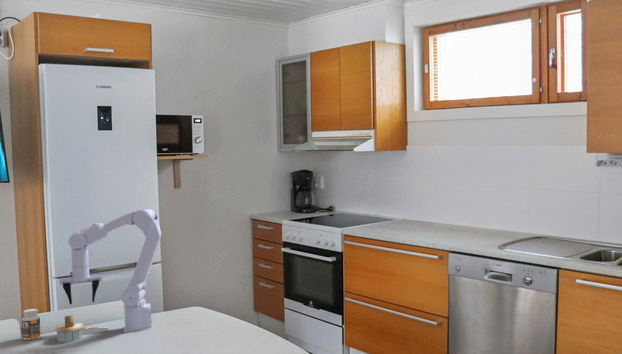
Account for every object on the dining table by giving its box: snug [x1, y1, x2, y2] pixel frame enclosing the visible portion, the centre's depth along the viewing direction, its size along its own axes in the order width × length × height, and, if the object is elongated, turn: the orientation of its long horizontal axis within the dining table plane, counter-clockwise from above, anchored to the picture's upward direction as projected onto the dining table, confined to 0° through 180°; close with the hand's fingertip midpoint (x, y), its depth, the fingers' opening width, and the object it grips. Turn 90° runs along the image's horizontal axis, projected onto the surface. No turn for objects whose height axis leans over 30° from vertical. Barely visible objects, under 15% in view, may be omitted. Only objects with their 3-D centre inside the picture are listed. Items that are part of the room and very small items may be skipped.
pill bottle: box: [21, 308, 41, 341], centre depth 212 cm, size 6×6×10 cm
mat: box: [82, 326, 109, 336], centre depth 219 cm, size 10×10×1 cm
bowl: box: [56, 329, 83, 343], centre depth 209 cm, size 8×8×4 cm
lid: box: [54, 314, 84, 333], centre depth 209 cm, size 9×9×4 cm
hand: (82, 302), depth 219 cm, fingers open, 7 cm apart
